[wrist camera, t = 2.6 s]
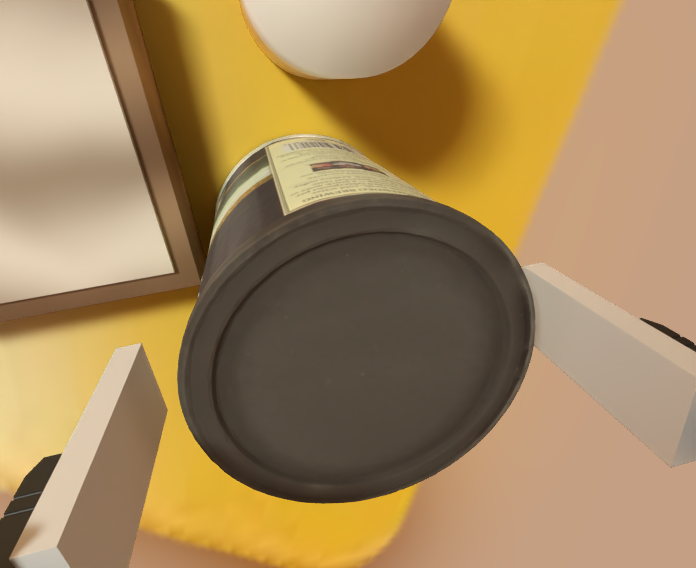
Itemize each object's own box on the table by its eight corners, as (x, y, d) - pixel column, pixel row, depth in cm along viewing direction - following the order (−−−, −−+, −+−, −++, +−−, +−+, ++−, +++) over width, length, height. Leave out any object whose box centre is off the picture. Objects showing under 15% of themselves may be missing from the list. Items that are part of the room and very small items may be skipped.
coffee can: (264, 331, 27) (279, 550, 14) (178, 178, 22) (85, 308, 9) (413, 266, 27) (556, 425, 14) (361, 101, 22) (509, 127, 10)
